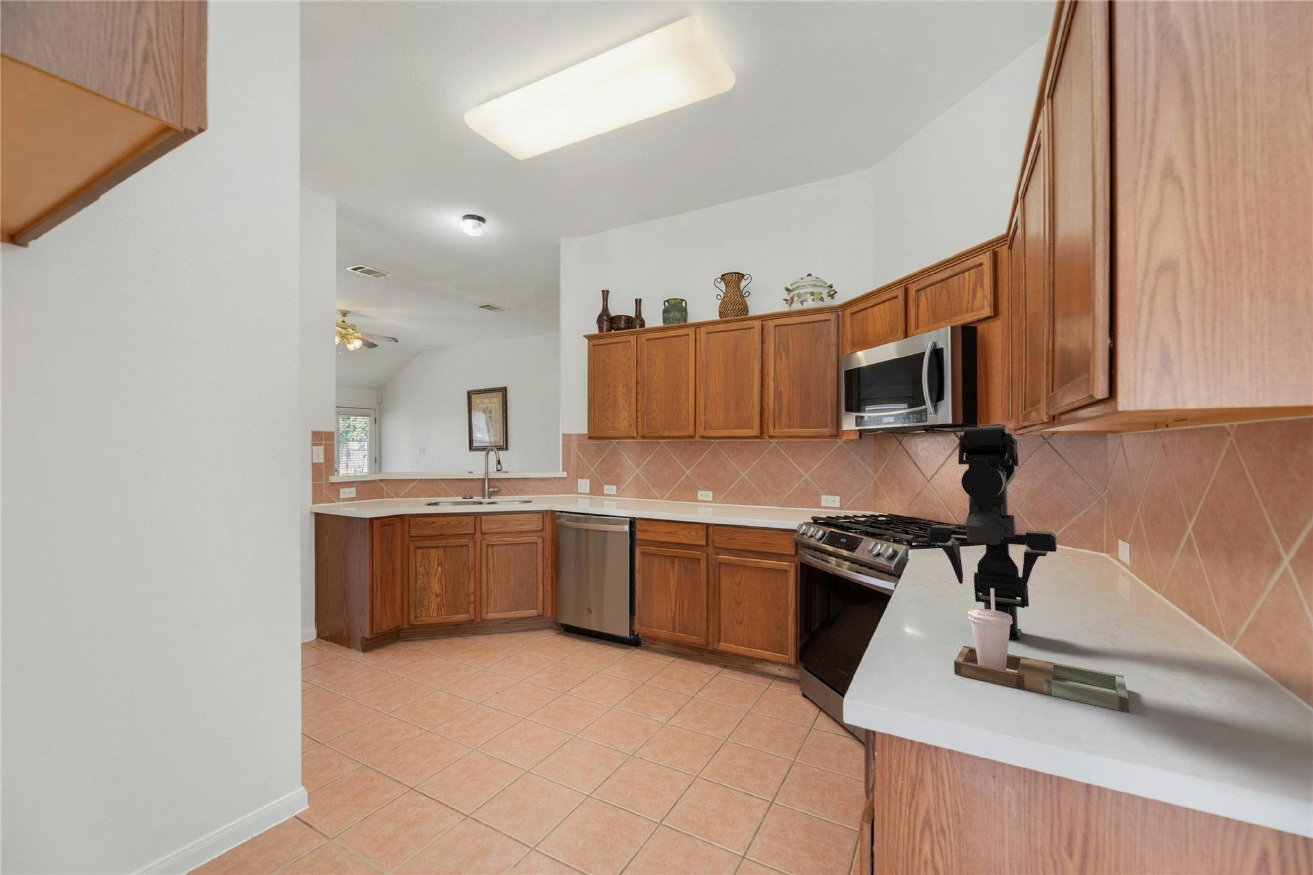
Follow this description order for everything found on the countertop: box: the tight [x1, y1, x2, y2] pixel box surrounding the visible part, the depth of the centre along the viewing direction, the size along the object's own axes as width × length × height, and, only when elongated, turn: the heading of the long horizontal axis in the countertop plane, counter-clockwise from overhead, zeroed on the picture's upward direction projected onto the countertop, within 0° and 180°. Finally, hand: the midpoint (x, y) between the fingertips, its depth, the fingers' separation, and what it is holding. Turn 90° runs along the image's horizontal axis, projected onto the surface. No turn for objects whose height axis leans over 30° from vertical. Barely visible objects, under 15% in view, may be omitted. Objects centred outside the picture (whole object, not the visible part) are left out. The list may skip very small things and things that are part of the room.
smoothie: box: [967, 588, 1013, 671], centre depth 87 cm, size 6×6×14 cm
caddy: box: [953, 645, 1130, 713], centre depth 83 cm, size 10×22×2 cm, turn 51°
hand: (991, 587), depth 90 cm, fingers open, 9 cm apart
